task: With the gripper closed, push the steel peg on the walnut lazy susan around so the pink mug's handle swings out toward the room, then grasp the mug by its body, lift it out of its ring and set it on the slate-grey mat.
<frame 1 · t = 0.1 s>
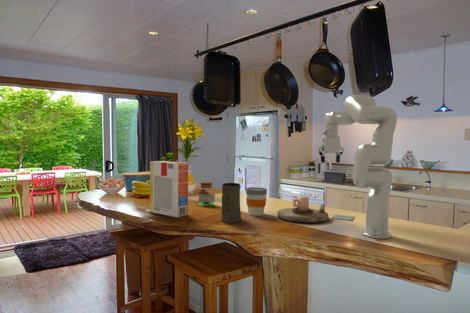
hand: (330, 162, 198), 31 cm above the counter, tool pointing down, fingers open, 9 cm apart
toy burger: (205, 204, 225), on the counter
lazy susan: (302, 210, 189), point 4 cm above the counter, hinge at 0.0°, touching pink mug
pink mug: (302, 212, 189), point 3 cm above the counter, touching lazy susan
mat: (343, 217, 192), on the counter
pasta box: (168, 213, 195), on the counter
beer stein: (231, 220, 182), on the counter
reusable coffee cup: (255, 214, 198), on the counter
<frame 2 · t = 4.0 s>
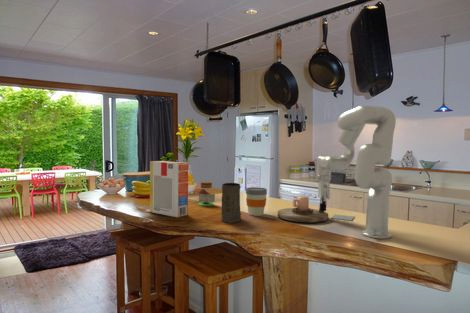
hand: (322, 210, 188), 5 cm above the counter, tool pointing down, fingers closed
lazy susan: (302, 210, 189), point 4 cm above the counter, hinge at 3.5°, touching gripper, pink mug
everything else where it was.
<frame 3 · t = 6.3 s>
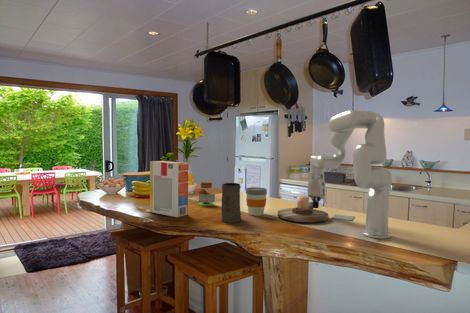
hand: (315, 207, 196), 5 cm above the counter, tool pointing down, fingers closed
lazy susan: (302, 210, 189), point 4 cm above the counter, hinge at 47.7°, touching gripper, pink mug
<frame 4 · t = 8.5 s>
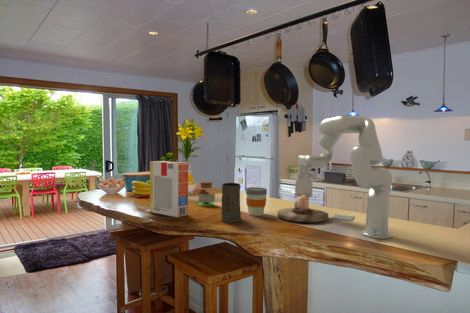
hand: (303, 206, 200), 5 cm above the counter, tool pointing down, fingers closed
lazy susan: (302, 210, 189), point 4 cm above the counter, hinge at 87.7°, touching gripper, pink mug
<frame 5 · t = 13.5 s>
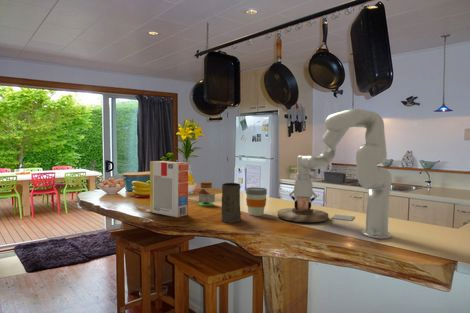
hand: (302, 208, 189), 5 cm above the counter, tool pointing down, fingers closed on pink mug, 6 cm apart
lazy susan: (302, 210, 189), point 4 cm above the counter, hinge at 87.7°, touching pink mug
pink mug: (302, 212, 189), point 3 cm above the counter, touching gripper, lazy susan
everything else where it was.
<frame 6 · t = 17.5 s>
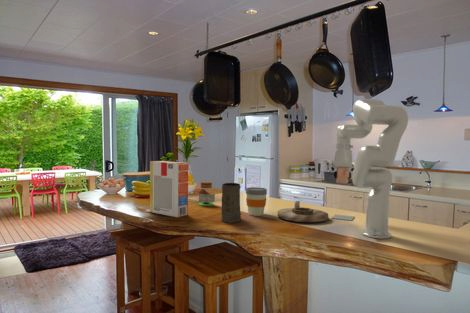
hand: (342, 178, 190), 23 cm above the counter, tool pointing down, fingers closed on pink mug, 6 cm apart
lazy susan: (302, 210, 189), point 4 cm above the counter, hinge at 87.7°
pink mug: (342, 183, 191), point 20 cm above the counter, touching gripper
everything else where it was.
when the fingers open (4 cm above the counter, at t = 21.7 s): pink mug drops 1 cm, resting on mat.
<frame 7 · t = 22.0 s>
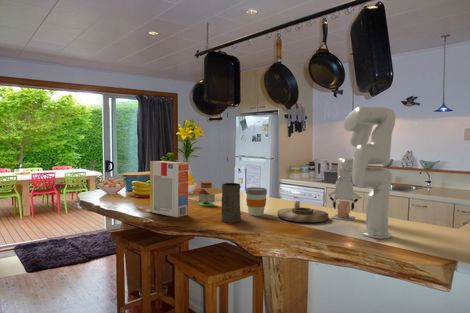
hand: (343, 209, 191), 5 cm above the counter, tool pointing down, fingers open, 9 cm apart
pink mug: (343, 217, 192), resting on mat
everything else where it was.
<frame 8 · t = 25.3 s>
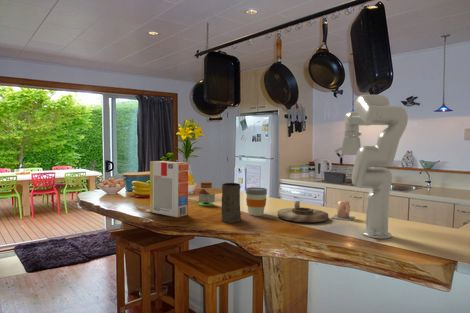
hand: (350, 165, 190), 30 cm above the counter, tool pointing down, fingers open, 9 cm apart
nothing on the counter moved.
at the end: lazy susan at +88° (first picture: +0°); pink mug inside the target area on the mat (0.1 cm from its centre), point 0.5 cm above the mat's base; pink mug tilted 1° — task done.
